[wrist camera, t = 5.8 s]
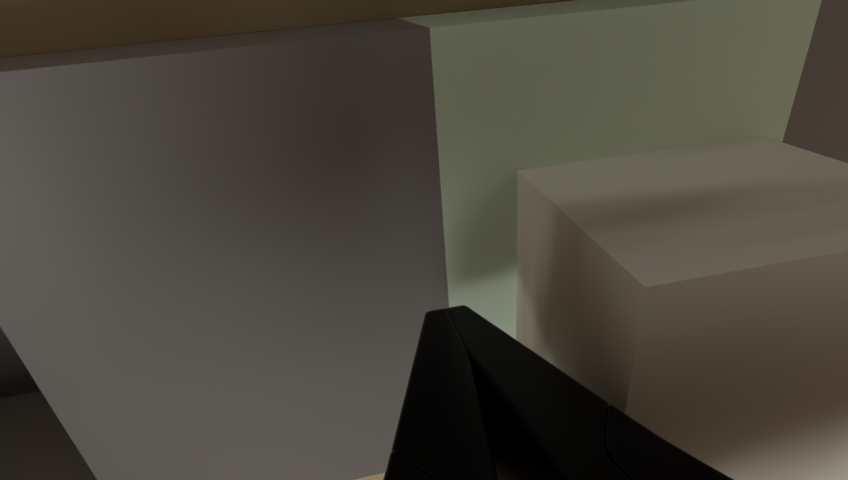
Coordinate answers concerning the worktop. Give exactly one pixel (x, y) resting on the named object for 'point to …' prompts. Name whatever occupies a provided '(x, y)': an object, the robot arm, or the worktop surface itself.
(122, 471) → the trap deck
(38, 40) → the worktop surface
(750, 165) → the cream block
